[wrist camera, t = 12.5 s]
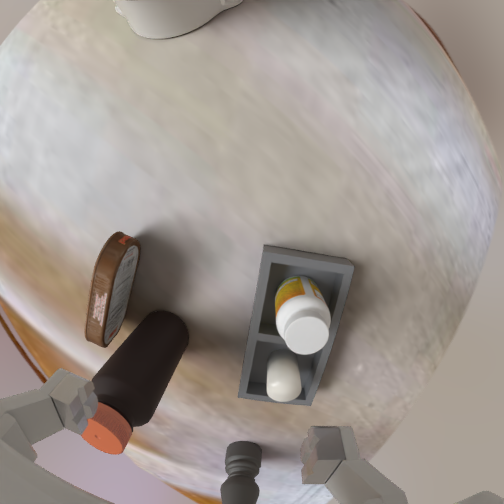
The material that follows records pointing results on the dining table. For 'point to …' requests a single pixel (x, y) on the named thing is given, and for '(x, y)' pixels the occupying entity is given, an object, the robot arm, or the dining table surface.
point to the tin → (111, 288)
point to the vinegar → (135, 380)
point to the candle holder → (241, 473)
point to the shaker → (283, 376)
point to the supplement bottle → (302, 315)
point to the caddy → (264, 318)
